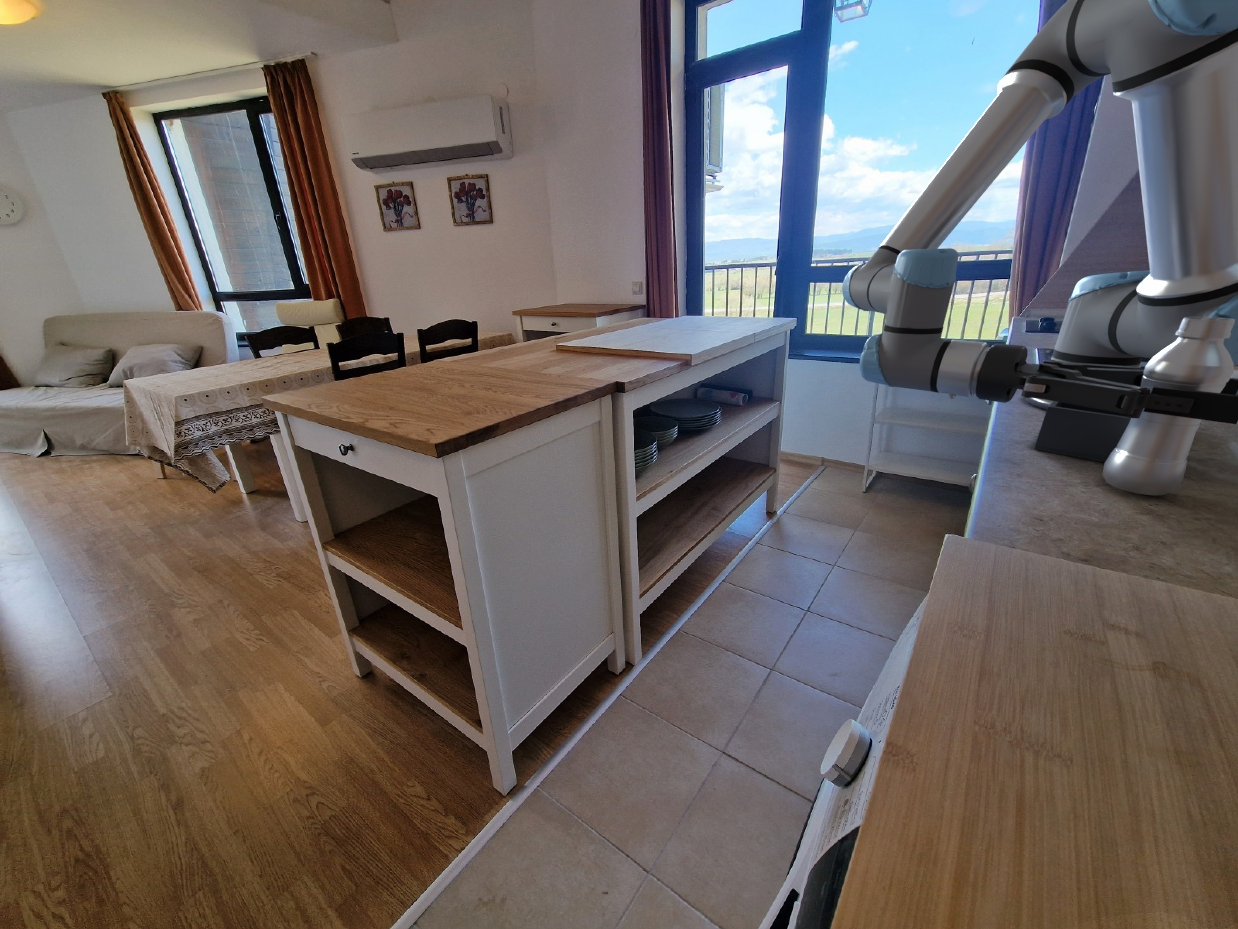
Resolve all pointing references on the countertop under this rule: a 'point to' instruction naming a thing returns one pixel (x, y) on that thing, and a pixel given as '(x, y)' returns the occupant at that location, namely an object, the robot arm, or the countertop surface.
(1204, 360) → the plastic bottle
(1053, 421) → the bin
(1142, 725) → the countertop surface
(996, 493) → the countertop surface
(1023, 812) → the countertop surface
